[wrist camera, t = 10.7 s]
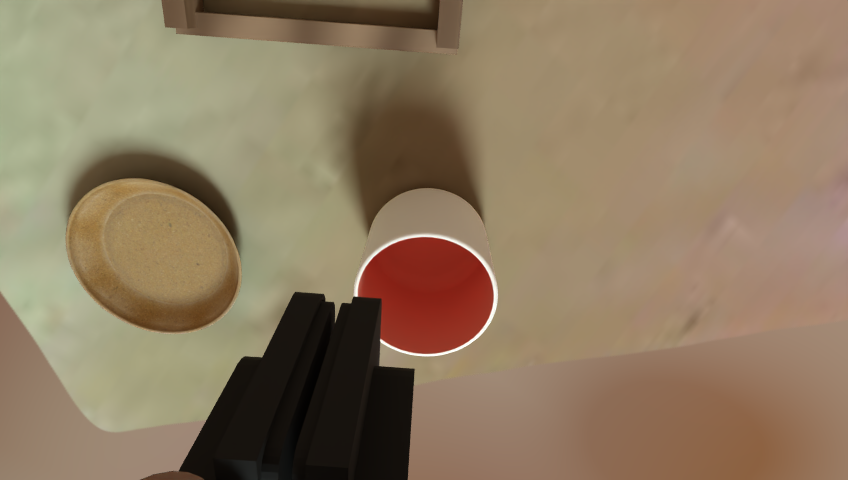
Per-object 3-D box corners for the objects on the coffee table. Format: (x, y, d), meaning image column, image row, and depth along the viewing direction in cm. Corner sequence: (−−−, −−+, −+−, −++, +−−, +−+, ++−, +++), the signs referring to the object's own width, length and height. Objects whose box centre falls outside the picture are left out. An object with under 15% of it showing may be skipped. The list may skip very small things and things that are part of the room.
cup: (352, 205, 43) (329, 259, 34) (464, 166, 42) (472, 212, 33) (395, 300, 47) (385, 372, 38) (500, 269, 46) (515, 335, 36)
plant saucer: (64, 166, 43) (41, 176, 40) (239, 171, 42) (227, 180, 40) (107, 315, 49) (90, 331, 47) (260, 320, 49) (251, 336, 46)
